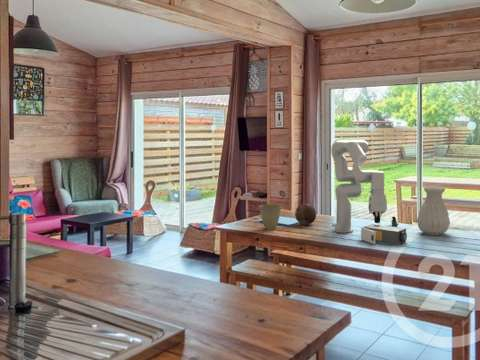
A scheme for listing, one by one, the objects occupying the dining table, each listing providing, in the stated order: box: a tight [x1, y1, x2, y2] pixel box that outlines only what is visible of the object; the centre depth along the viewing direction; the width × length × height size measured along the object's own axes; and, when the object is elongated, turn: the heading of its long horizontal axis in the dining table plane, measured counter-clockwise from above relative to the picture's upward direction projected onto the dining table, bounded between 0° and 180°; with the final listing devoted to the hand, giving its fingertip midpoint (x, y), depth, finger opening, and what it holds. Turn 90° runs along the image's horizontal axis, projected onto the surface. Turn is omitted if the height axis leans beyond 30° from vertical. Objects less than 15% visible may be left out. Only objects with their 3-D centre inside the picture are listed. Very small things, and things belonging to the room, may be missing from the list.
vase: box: [416, 186, 451, 236], centre depth 315 cm, size 20×20×30 cm
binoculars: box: [390, 216, 399, 227], centre depth 318 cm, size 9×11×10 cm
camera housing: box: [362, 223, 408, 246], centre depth 296 cm, size 24×12×9 cm, turn 47°
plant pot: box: [259, 204, 282, 231], centre depth 332 cm, size 15×15×16 cm
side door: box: [360, 226, 376, 245], centre depth 293 cm, size 14×2×7 cm, turn 17°
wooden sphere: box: [294, 203, 317, 226], centre depth 347 cm, size 15×15×15 cm
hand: (377, 222), depth 289 cm, fingers closed
